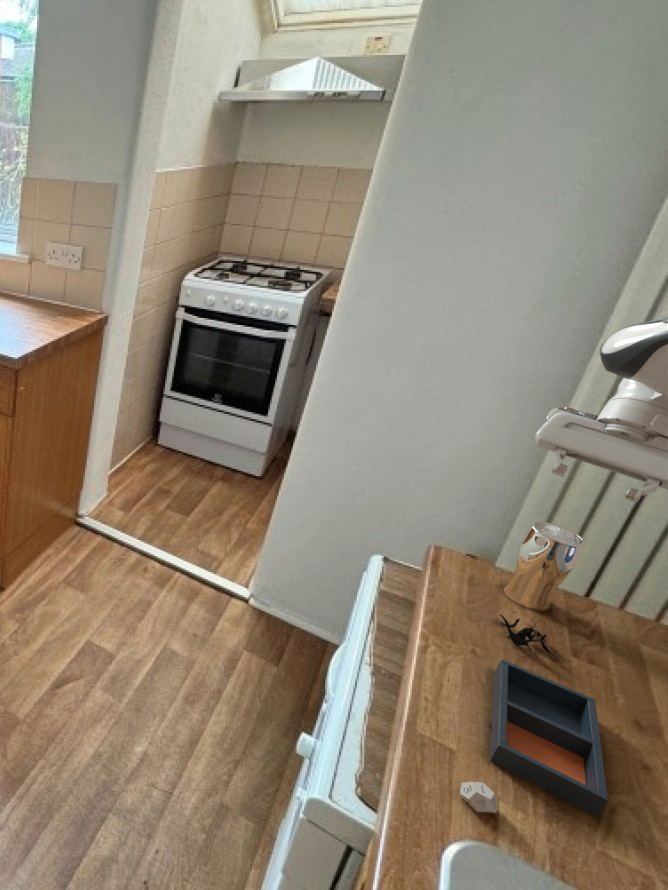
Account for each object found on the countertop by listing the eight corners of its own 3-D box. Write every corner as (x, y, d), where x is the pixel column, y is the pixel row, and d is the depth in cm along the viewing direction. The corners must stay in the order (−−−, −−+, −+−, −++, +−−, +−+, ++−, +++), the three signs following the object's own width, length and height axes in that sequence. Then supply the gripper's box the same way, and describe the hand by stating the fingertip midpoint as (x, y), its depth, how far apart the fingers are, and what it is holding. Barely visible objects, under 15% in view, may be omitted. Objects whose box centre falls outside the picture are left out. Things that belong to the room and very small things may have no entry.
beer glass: (557, 620, 105) (593, 551, 100) (504, 604, 109) (537, 537, 103) (544, 595, 111) (578, 529, 105) (495, 581, 114) (525, 516, 109)
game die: (492, 802, 77) (501, 787, 75) (493, 827, 74) (502, 811, 73) (456, 784, 79) (464, 769, 78) (456, 807, 76) (465, 791, 75)
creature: (504, 626, 105) (481, 630, 102) (520, 601, 104) (496, 604, 101) (562, 661, 99) (538, 666, 95) (579, 635, 97) (556, 640, 94)
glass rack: (493, 675, 94) (501, 658, 93) (584, 716, 88) (595, 699, 87) (488, 763, 81) (498, 745, 80) (595, 819, 75) (608, 800, 74)
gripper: (556, 396, 116) (518, 452, 114) (723, 442, 99) (680, 508, 98) (554, 411, 119) (517, 466, 118) (715, 458, 103) (673, 522, 102)
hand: (592, 486), depth 108 cm, fingers open, 8 cm apart
